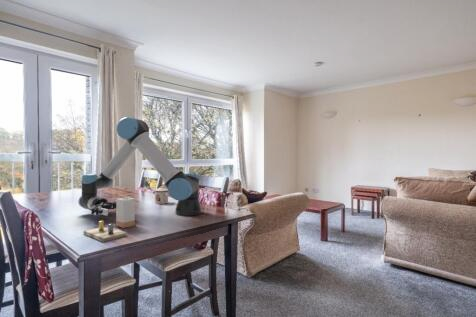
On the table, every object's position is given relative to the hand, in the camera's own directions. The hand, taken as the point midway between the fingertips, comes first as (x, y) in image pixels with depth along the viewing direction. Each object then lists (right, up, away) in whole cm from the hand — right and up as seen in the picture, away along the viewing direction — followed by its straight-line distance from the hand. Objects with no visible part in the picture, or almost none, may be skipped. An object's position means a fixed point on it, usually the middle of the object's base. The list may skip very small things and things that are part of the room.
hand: (120, 210), depth 134 cm
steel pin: (+4, -6, -19) cm, 20 cm away
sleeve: (+3, -7, -1) cm, 8 cm away
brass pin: (-2, -6, -15) cm, 16 cm away
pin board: (0, -7, -16) cm, 18 cm away
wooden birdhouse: (+5, -6, +55) cm, 55 cm away
